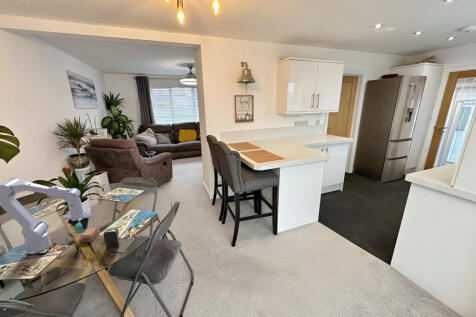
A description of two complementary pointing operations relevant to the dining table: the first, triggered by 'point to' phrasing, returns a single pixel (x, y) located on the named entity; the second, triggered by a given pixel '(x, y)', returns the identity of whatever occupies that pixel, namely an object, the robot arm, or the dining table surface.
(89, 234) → the tower top
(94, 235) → the tower base
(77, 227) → the teal block
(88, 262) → the dining table surface
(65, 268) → the dining table surface
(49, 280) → the dining table surface
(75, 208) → the robot arm
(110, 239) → the battery
